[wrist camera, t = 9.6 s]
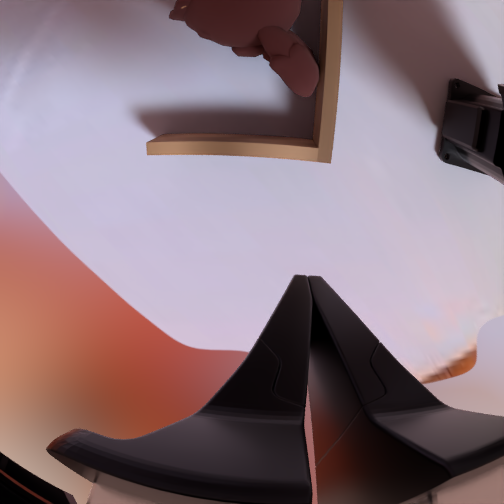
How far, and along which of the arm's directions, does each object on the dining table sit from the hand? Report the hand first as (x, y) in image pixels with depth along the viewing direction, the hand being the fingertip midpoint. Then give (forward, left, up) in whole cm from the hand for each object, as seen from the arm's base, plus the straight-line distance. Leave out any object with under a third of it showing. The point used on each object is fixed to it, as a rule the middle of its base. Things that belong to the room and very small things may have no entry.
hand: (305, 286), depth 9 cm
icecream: (+4, -12, -12) cm, 17 cm away
